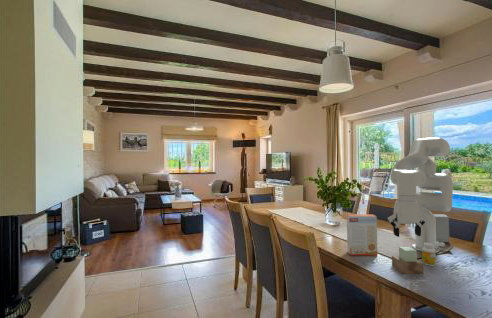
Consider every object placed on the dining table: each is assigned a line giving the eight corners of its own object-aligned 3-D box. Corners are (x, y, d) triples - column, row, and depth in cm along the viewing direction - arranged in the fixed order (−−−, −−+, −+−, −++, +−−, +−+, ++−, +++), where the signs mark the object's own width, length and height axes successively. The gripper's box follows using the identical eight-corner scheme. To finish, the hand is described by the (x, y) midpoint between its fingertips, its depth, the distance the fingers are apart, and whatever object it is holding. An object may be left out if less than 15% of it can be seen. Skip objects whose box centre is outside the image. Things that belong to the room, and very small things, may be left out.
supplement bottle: (419, 262, 130) (419, 242, 130) (429, 261, 130) (429, 241, 130) (427, 266, 124) (427, 245, 124) (438, 266, 125) (438, 245, 125)
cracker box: (373, 252, 143) (373, 213, 143) (377, 256, 137) (377, 216, 137) (346, 251, 145) (346, 213, 145) (350, 255, 139) (349, 216, 139)
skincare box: (445, 239, 163) (445, 214, 163) (450, 243, 156) (449, 216, 156) (429, 238, 166) (429, 213, 166) (433, 241, 159) (433, 215, 159)
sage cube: (409, 257, 123) (409, 246, 123) (416, 261, 118) (416, 250, 118) (399, 257, 124) (398, 246, 123) (405, 261, 118) (405, 250, 118)
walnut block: (410, 266, 126) (410, 255, 126) (423, 274, 117) (423, 263, 117) (391, 266, 126) (391, 255, 126) (403, 274, 117) (403, 263, 117)
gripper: (420, 196, 125) (420, 232, 125) (383, 197, 125) (384, 233, 125) (431, 199, 117) (431, 237, 118) (392, 200, 117) (392, 238, 118)
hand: (407, 235), depth 121 cm, fingers open, 9 cm apart
